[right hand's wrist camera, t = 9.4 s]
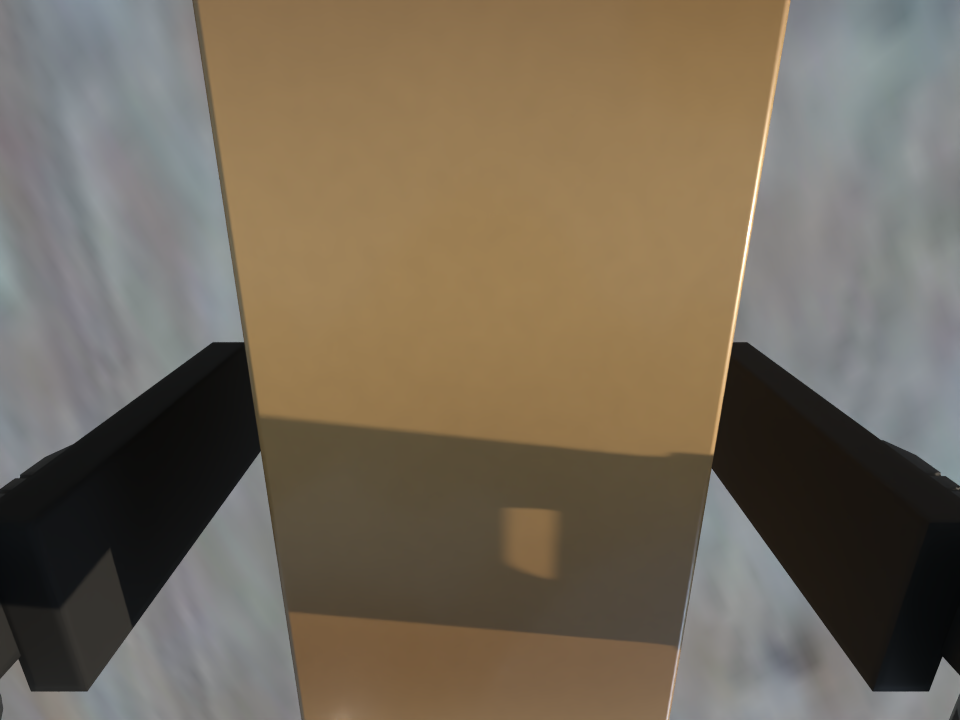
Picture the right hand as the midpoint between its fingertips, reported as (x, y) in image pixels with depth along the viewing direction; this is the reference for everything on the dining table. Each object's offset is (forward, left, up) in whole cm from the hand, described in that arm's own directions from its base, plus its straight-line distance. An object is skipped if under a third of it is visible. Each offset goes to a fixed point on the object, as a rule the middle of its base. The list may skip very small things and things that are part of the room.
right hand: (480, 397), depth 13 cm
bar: (+5, +8, -2) cm, 9 cm away
